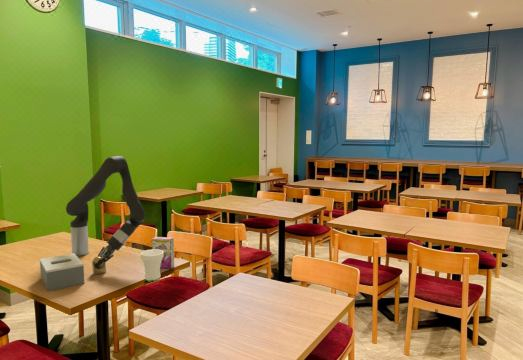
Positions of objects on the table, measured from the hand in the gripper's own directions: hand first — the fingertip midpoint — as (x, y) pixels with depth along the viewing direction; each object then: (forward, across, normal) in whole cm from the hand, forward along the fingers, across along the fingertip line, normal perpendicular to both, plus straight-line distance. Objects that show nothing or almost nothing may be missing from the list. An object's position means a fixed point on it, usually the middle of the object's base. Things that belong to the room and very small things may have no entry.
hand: (95, 266), depth 200 cm
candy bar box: (-20, +11, +26) cm, 35 cm away
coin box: (+14, 0, -8) cm, 16 cm away
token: (+2, 0, +4) cm, 5 cm away
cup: (-12, +25, +18) cm, 33 cm away
